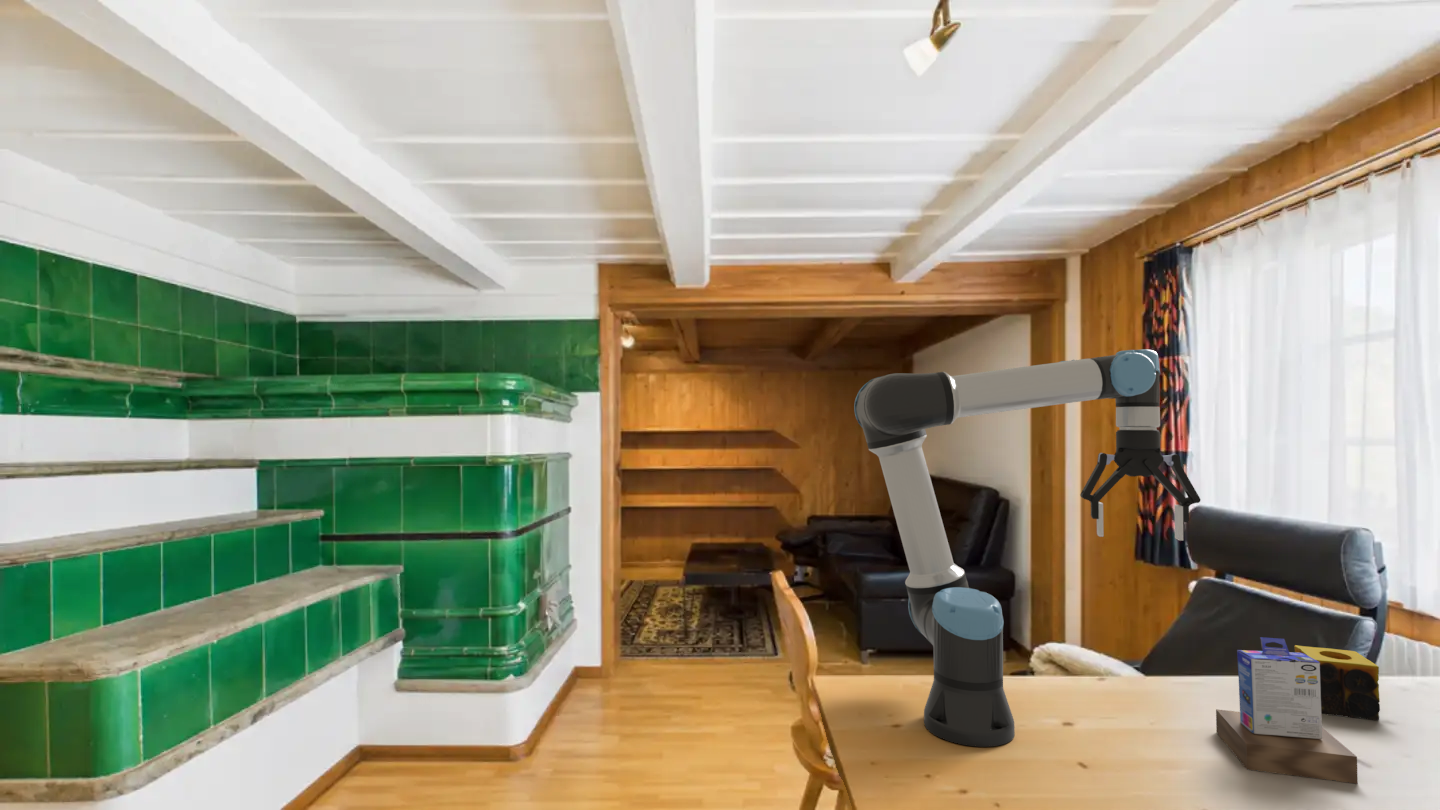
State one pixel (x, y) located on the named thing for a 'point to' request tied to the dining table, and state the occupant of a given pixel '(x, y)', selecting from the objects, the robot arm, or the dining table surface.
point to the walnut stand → (1287, 751)
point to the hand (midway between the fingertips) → (1139, 537)
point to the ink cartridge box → (1279, 692)
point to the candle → (1346, 682)
